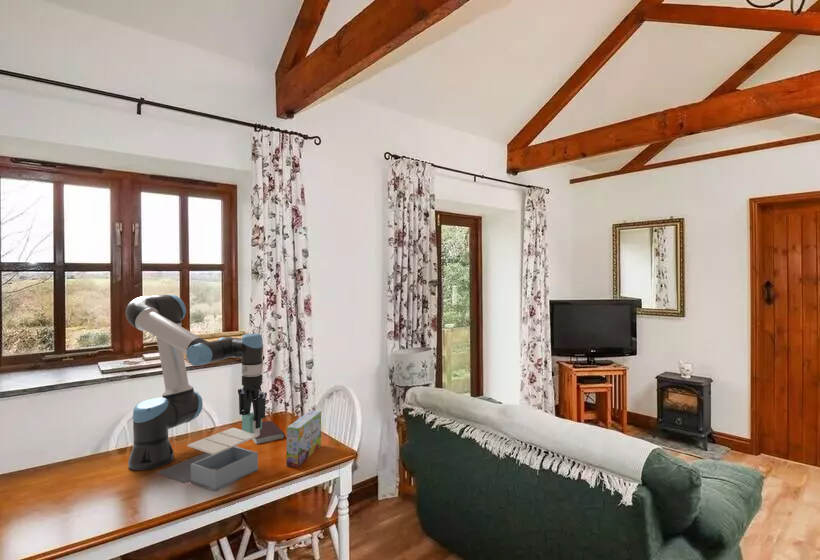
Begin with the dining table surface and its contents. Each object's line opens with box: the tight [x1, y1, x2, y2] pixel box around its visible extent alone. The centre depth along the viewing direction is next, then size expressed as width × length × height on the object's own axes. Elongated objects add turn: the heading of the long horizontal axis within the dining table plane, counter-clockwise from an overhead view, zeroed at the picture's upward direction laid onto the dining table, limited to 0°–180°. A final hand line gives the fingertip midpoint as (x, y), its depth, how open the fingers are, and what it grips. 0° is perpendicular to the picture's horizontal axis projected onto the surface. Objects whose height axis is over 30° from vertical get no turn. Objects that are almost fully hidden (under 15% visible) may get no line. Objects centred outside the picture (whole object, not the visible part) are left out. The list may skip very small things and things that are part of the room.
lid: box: [187, 411, 263, 455], centre depth 160 cm, size 14×25×6 cm, turn 151°
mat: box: [156, 452, 212, 484], centre depth 167 cm, size 16×26×1 cm, turn 151°
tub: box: [190, 446, 259, 492], centre depth 157 cm, size 13×18×6 cm
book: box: [252, 420, 286, 445], centre depth 197 cm, size 12×19×3 cm, turn 34°
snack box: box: [285, 410, 322, 468], centre depth 174 cm, size 21×6×15 cm, turn 168°
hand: (252, 434), depth 168 cm, fingers closed on lid, 4 cm apart
